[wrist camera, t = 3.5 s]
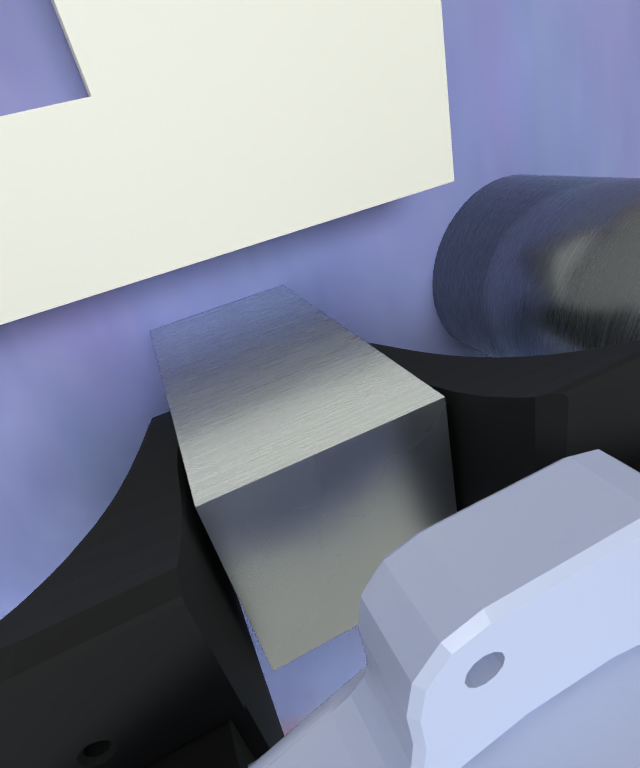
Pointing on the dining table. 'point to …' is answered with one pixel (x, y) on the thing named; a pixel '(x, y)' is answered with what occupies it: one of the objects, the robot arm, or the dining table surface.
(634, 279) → the round dark peg
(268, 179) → the cream socket block
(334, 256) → the dining table surface
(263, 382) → the square steel peg
